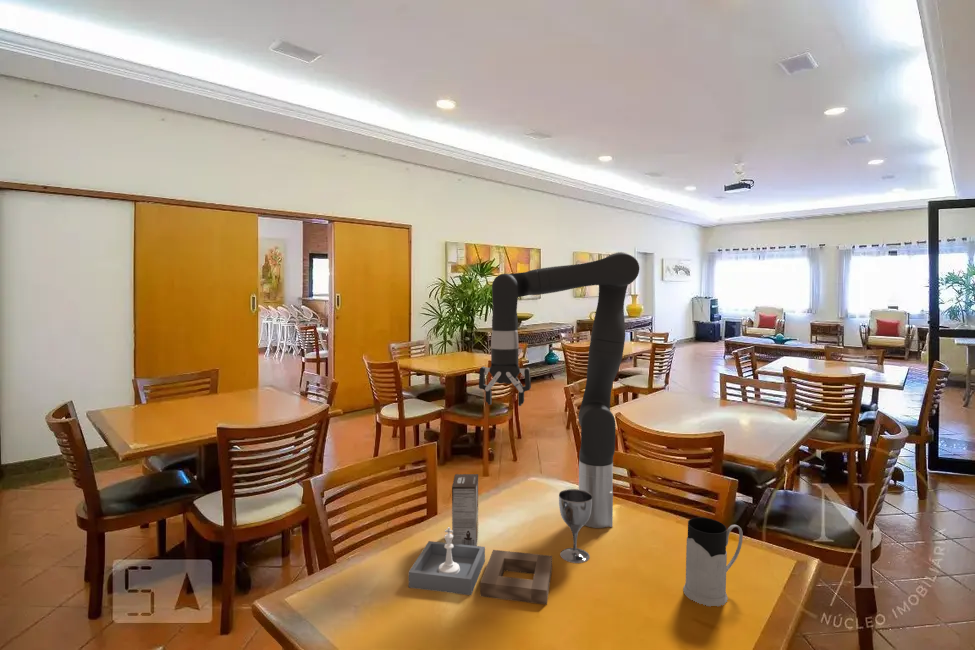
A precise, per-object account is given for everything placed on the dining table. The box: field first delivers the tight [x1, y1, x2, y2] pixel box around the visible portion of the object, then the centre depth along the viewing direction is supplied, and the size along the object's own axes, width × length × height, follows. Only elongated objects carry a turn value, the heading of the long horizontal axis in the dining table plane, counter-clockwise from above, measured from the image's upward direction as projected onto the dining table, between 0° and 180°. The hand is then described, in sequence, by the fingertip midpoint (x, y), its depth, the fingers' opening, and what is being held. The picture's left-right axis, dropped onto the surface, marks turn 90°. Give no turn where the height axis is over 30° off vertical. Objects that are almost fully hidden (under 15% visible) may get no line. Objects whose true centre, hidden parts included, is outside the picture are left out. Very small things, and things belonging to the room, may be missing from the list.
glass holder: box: [683, 517, 744, 607], centre depth 108 cm, size 9×14×15 cm, turn 111°
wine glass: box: [558, 488, 592, 564], centre depth 122 cm, size 8×8×15 cm
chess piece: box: [438, 526, 460, 575], centre depth 115 cm, size 5×5×10 cm
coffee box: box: [451, 473, 479, 546], centre depth 130 cm, size 9×6×16 cm
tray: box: [408, 540, 486, 596], centre depth 115 cm, size 14×14×4 cm
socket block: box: [479, 549, 553, 605], centre depth 111 cm, size 14×14×3 cm
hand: (504, 404), depth 140 cm, fingers open, 8 cm apart
